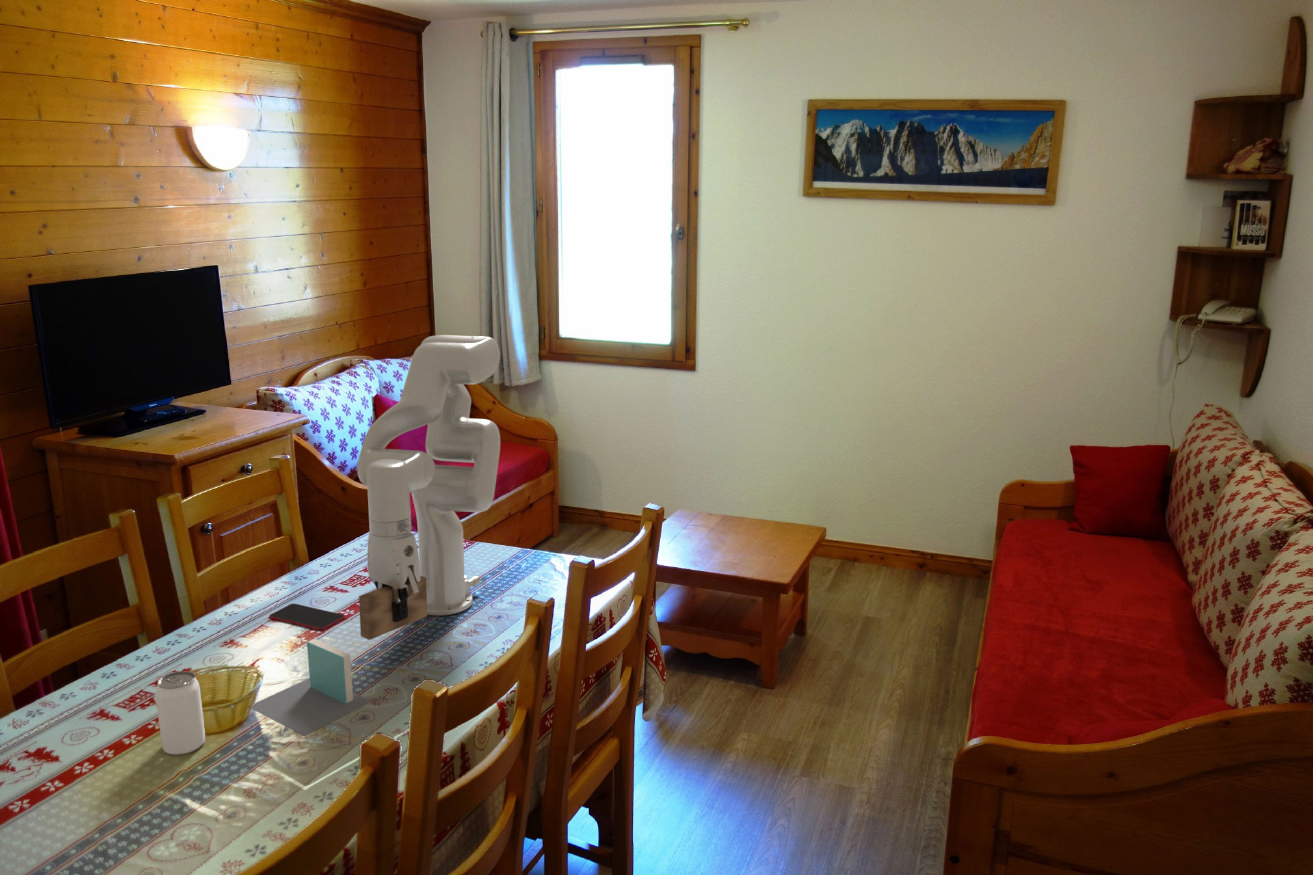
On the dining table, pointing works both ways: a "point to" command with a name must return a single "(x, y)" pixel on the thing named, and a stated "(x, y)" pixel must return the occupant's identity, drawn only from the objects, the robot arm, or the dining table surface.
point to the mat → (306, 707)
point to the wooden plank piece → (389, 610)
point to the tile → (330, 670)
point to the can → (180, 713)
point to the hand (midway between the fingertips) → (394, 616)
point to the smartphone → (307, 617)
